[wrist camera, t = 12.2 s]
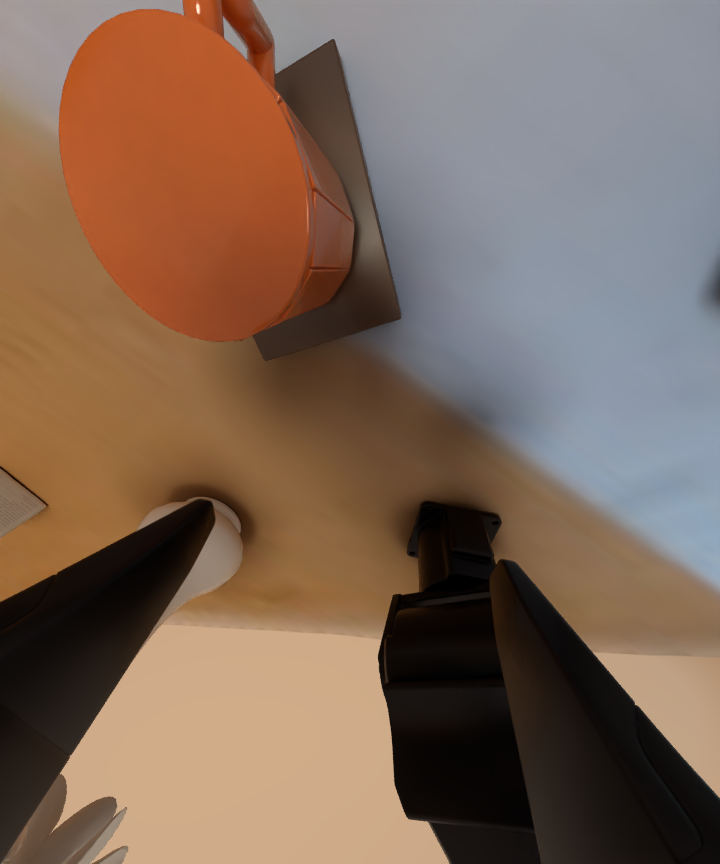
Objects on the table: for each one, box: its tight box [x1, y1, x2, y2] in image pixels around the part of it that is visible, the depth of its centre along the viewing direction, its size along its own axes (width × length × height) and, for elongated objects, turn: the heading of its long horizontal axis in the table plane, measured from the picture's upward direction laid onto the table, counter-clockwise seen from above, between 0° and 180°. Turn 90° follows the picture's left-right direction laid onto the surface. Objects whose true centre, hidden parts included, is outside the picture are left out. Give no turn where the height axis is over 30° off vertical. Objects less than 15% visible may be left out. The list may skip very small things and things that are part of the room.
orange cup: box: [59, 0, 355, 342], centre depth 10 cm, size 9×7×7 cm
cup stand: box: [253, 39, 401, 361], centre depth 12 cm, size 11×9×9 cm
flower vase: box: [1, 497, 243, 864], centre depth 18 cm, size 13×18×25 cm
